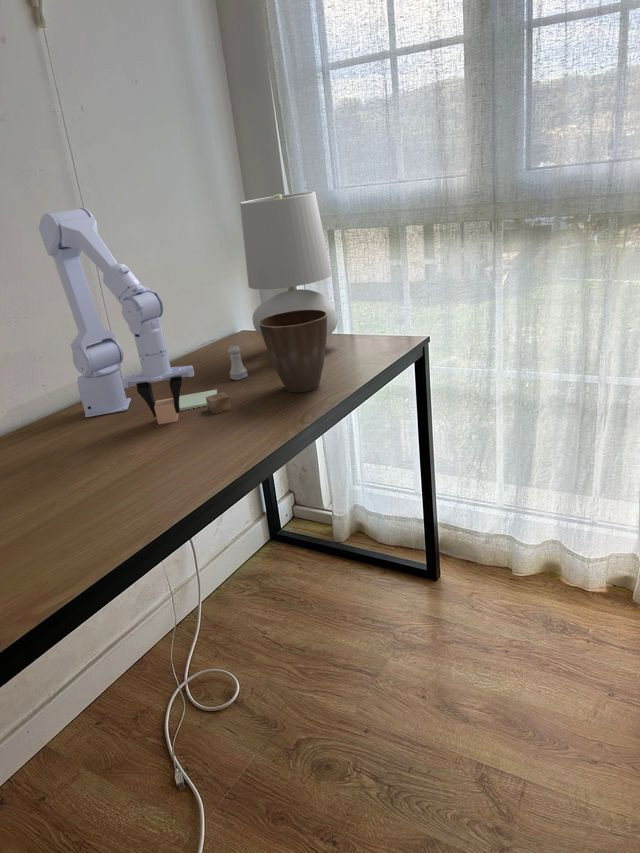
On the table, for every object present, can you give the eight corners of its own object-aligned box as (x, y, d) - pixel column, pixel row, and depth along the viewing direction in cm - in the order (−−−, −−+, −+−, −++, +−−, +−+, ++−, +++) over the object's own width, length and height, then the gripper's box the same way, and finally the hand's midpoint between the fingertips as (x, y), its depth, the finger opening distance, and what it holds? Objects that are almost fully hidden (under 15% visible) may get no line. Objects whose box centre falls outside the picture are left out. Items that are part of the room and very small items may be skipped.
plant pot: (296, 374, 160) (286, 308, 154) (348, 378, 152) (340, 309, 146) (257, 395, 149) (244, 325, 143) (311, 401, 141) (300, 327, 135)
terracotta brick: (158, 424, 140) (154, 406, 139) (159, 418, 144) (155, 400, 143) (177, 421, 141) (173, 403, 139) (178, 414, 145) (174, 397, 143)
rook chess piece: (251, 374, 165) (246, 343, 162) (242, 380, 161) (236, 348, 159) (236, 374, 167) (230, 343, 164) (226, 380, 163) (220, 349, 160)
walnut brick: (214, 414, 142) (211, 401, 141) (208, 410, 145) (205, 397, 144) (231, 409, 144) (229, 396, 142) (225, 405, 147) (222, 392, 146)
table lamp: (244, 365, 174) (214, 205, 159) (273, 342, 193) (249, 196, 178) (328, 361, 166) (305, 193, 152) (350, 337, 185) (331, 185, 171)
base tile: (177, 414, 147) (176, 408, 147) (179, 401, 155) (178, 396, 155) (218, 406, 148) (217, 401, 147) (217, 394, 156) (216, 389, 156)
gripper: (114, 363, 133) (130, 426, 138) (187, 350, 134) (200, 413, 139) (118, 354, 139) (134, 414, 144) (188, 342, 140) (201, 402, 145)
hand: (167, 413), depth 142 cm, fingers closed on terracotta brick, 4 cm apart
